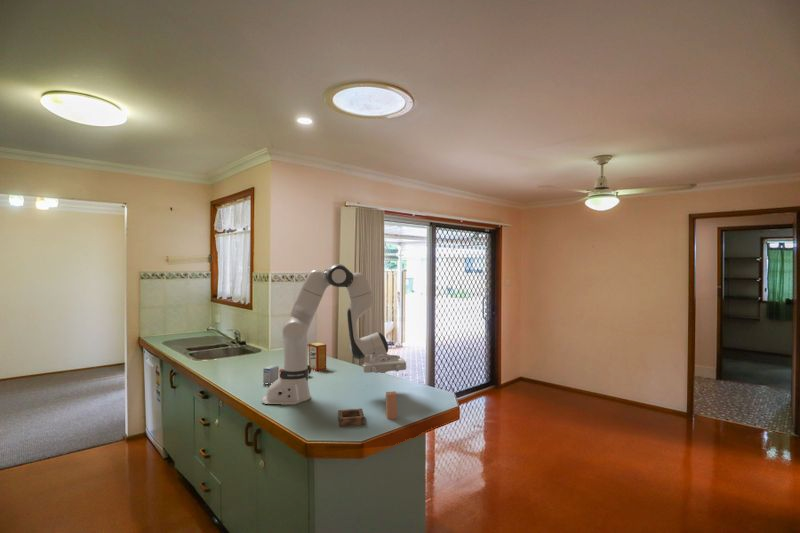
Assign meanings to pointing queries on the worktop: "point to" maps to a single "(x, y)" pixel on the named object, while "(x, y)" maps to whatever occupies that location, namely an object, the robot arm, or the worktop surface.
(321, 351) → the baking soda box
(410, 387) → the worktop surface
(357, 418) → the walnut well
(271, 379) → the medicine box
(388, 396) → the salmon orange rectangular block
